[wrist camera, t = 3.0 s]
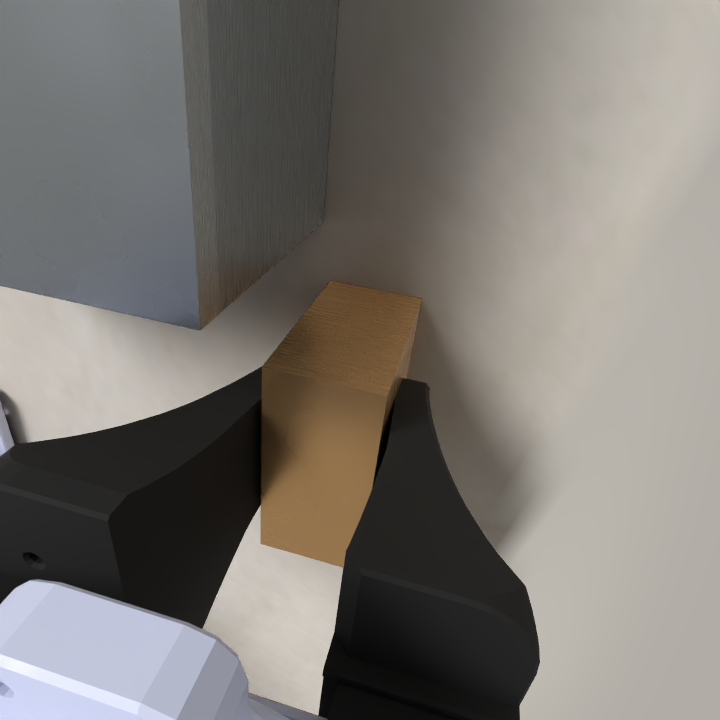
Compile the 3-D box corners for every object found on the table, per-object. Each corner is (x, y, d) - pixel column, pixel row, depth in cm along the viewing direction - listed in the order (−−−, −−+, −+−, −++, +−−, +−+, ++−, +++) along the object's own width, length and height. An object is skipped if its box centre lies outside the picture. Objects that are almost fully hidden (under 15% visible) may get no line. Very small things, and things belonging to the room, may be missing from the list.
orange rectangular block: (394, 447, 16) (358, 571, 12) (318, 429, 16) (260, 543, 12) (422, 298, 13) (387, 396, 9) (331, 280, 13) (261, 366, 10)
